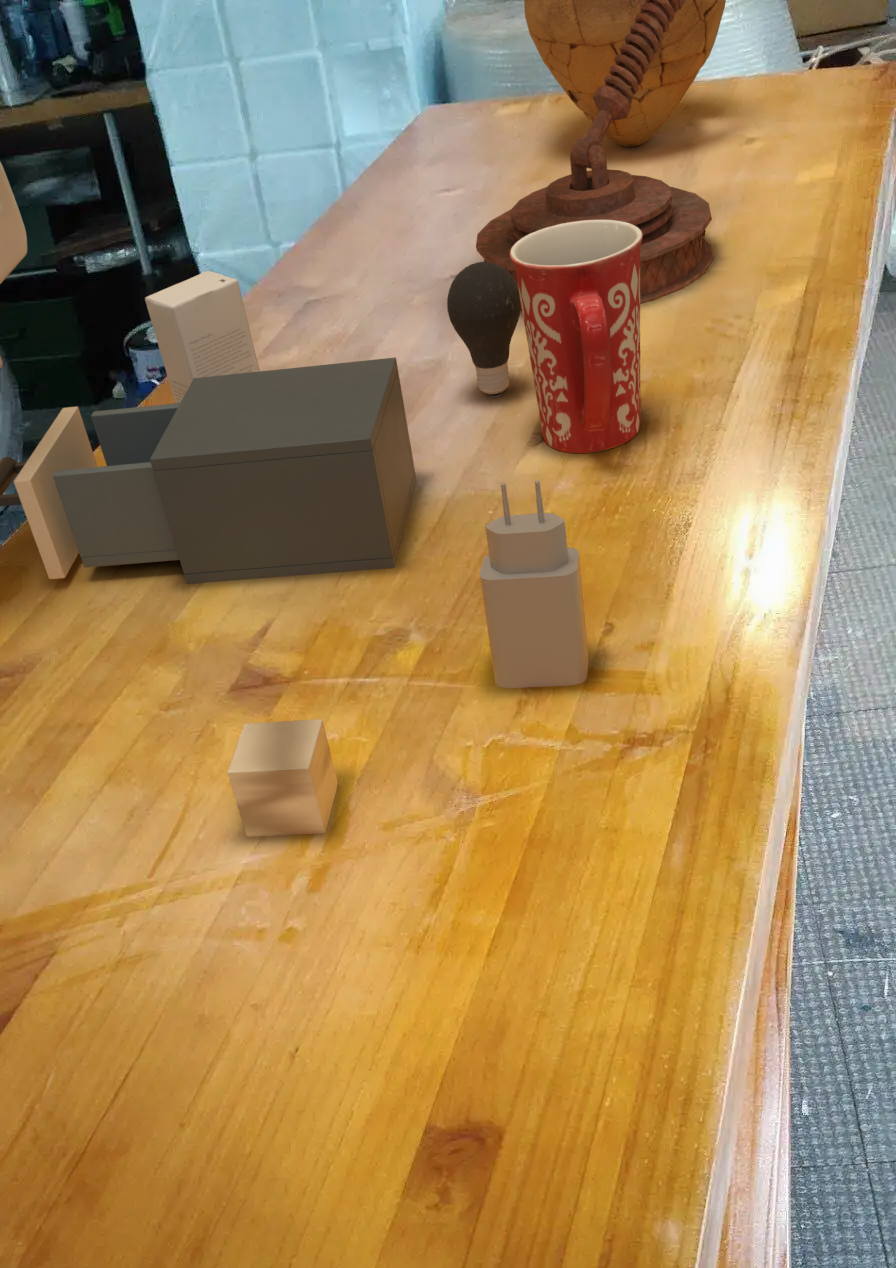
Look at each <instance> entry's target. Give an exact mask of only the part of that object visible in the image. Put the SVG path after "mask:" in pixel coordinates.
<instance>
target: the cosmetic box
mask: <svg viewBox="0 0 896 1268" xmlns="http://www.w3.org/2000/svg"><path fill="white" fill-rule="evenodd" d="M144 301H145V304H146V308H147V311H148V315H149V318H150V321H151V325H152V328H153V329H152V330H153V332H154V335H155V339H156V342H157V345H158V349H159V353H160V356H161V359H162V362H163V366H164V369H165V374H166V376H167V380H168V383H169V387H170V391H171V393H172V397H173V401H174V403H181V401H182V399H183V397H184V395H185V394H186V392H187V390H188V388H189V386H190V384H191V383H192V381H193V379H194V378H202V377H211V376H221V375H231V374H240V373H250V372H260V371H261V369H260V366H259V361H258V358H257V354H256V349H255V346H254V342H253V336H252V332H251V329H250V325H249V320H248V317H247V313H246V308H245V304H244V300H243V296H242V291H241V287H240V284H239V280H238V279H236V278H234V277H230V276H227V275H224V274H221V273H218V272H214V271H210V270H206V271H203V272H201V273H199V274H197V275H195V276H193V277H190V278H188V279H186V280H183V281H181V282H178V283H175V284H173V285H171V286H168V287H167V288H164V289H161V290H159V291H156V292H154V293H152V294H149V295H148V296H145V297H144Z"/></svg>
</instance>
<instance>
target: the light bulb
mask: <svg viewBox="0 0 896 1268" xmlns="http://www.w3.org/2000/svg"><path fill="white" fill-rule="evenodd" d="M446 308H447V313H448V314H447V315H448V317H449V321H450V323H451V325H452V327H453V329H454V331H455V333H457V335H458V336H459V338H460V339H461V341H462V342H463V343H464V345H465V346H466V348H467V349H468V352H469V354H470V358H471V361H472V363H473V365H474V368H475V372H476V377H477V378H476V380H477V386H478V388H479V390H480V392H482V393H484V394H487V395H488V396H489V397H490V398H497V397H500V396H501V395H502V393H503V392H504V391H505V390H506V389H507V388H508V387H509V386H510V382H509V380H510V373H509V366H508V365H509V364H508V363H509V357H510V347H511V342H512V338H513V336H514V333H515V330H516V327H517V325H518V323H519V320H520V316H521V312H522V311H521V302H520V296H519V289H518V286H517V283H516V281H515V280H514V278H513V277H512V276H511V274H510V273H509V272H508V271H506V270H505V269H504V268H503V267H501V266H499V265H497V264H495V263H491V262H484V261H479V262H475V263H471V264H469V265H467V266H465V267H464V268H463V269H462V270H460V271H459V272H458V273H457V275H455V277H454V279H453V280H452V282H451V284H450V287H449V289H448V294H447V299H446Z"/></svg>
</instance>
